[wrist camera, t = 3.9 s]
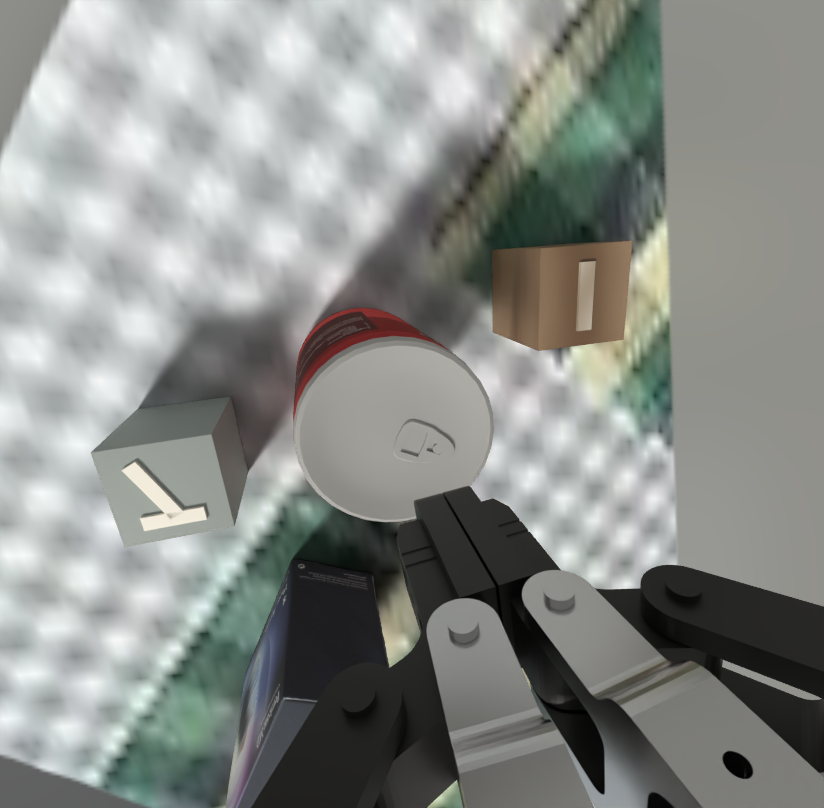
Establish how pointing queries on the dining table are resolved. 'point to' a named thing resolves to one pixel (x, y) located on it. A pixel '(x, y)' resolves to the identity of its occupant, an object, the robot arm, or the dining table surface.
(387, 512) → the canned food
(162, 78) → the dining table surface
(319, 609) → the small box
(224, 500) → the slate digit block
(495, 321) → the walnut digit block
